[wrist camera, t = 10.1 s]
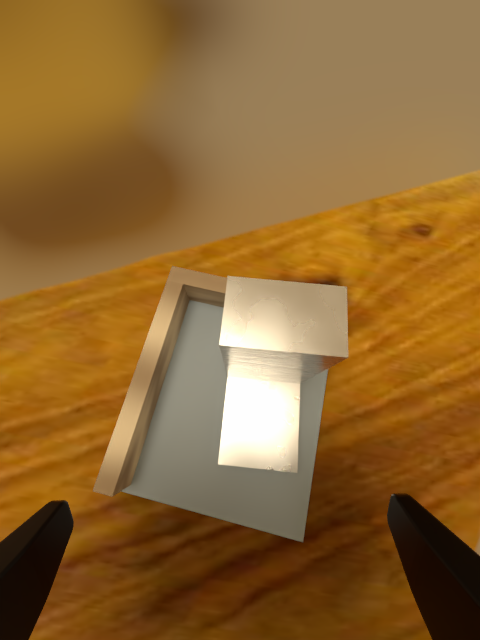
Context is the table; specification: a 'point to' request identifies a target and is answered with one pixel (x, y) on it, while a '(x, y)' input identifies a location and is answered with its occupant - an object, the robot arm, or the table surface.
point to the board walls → (153, 374)
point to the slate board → (204, 441)
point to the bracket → (274, 364)
